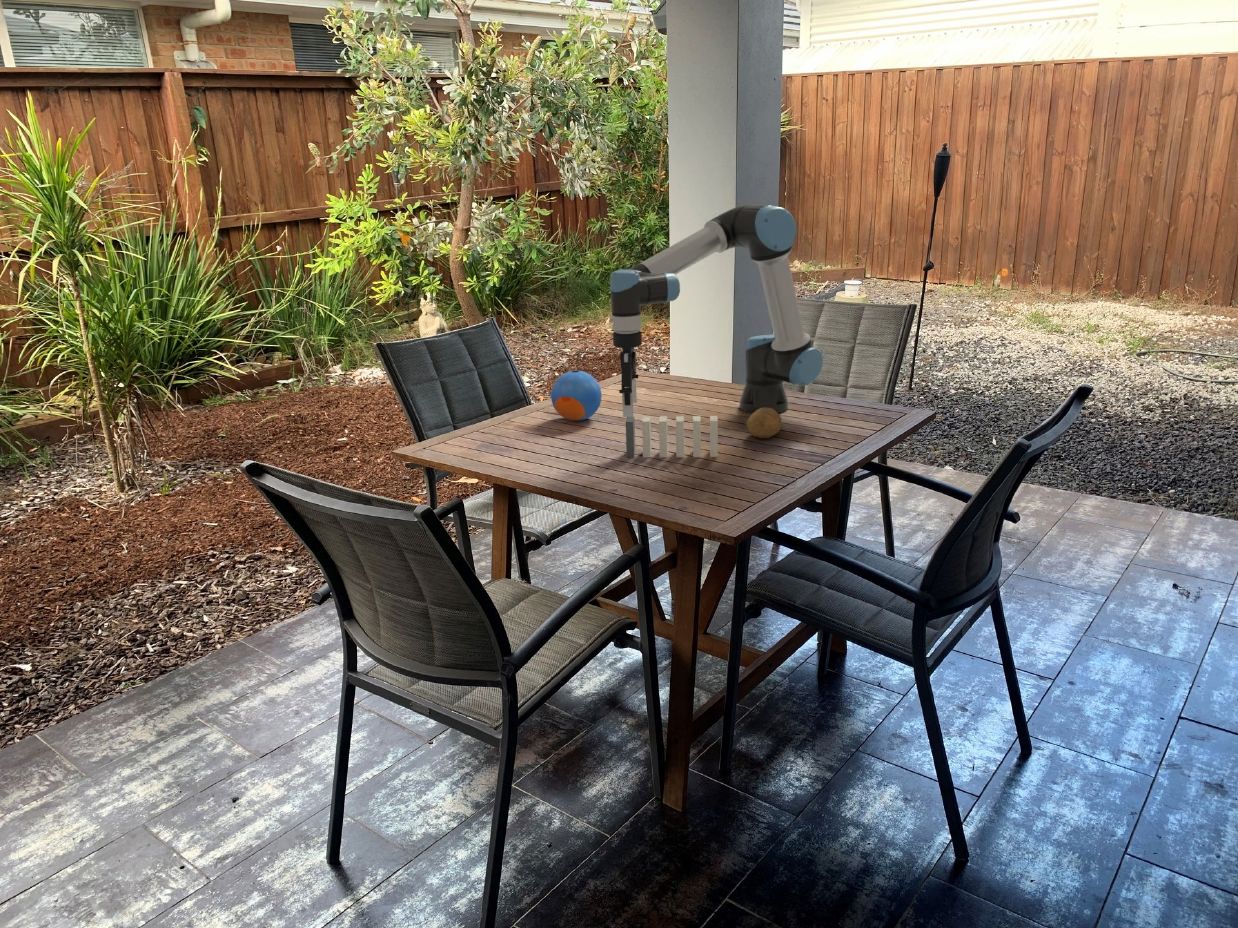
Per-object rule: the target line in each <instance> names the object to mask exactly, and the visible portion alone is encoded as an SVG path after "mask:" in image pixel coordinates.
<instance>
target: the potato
mask: <svg viewBox="0 0 1238 928" xmlns="http://www.w3.org/2000/svg"><path fill="white" fill-rule="evenodd" d="M745 424H746V428H747V430H748V432H749V433H750V434H751V435H753V437H756V438H759V439H770V438H771V437H773V436H775V435H776V434H778V433H779V431H780V429H781V427H782V416H780V413H777V412H776V411H775V410H774V409H772V408H760V409H758V410H756V411H755V412H754V413H751V415H750V416H749V417H748V418H747V421H746V423H745Z"/></svg>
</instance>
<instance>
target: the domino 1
mask: <svg viewBox="0 0 1238 928" xmlns="http://www.w3.org/2000/svg"><path fill="white" fill-rule="evenodd" d="M635 421H636V420H635V416H634V417H626V419H625V446H626V448H625V451H626V458H627V457H630V458H635V456H636V430H635V429H636V428H635V427H636V426H635Z"/></svg>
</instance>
